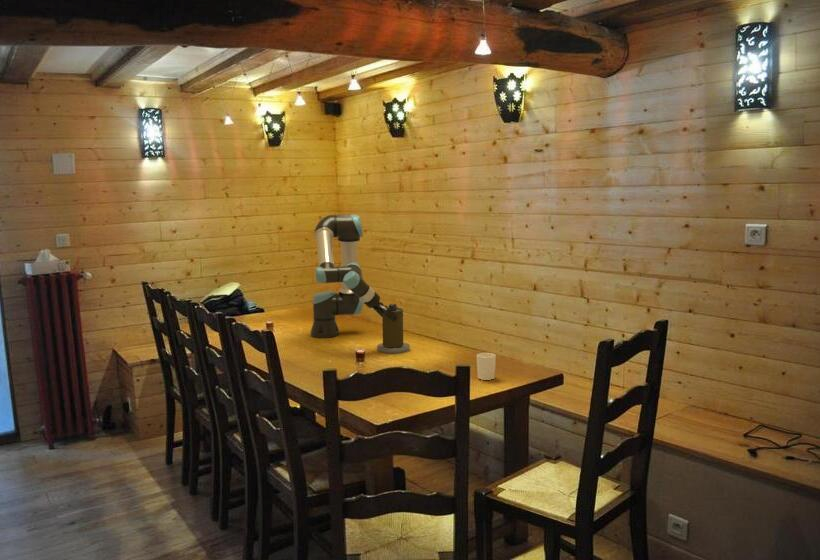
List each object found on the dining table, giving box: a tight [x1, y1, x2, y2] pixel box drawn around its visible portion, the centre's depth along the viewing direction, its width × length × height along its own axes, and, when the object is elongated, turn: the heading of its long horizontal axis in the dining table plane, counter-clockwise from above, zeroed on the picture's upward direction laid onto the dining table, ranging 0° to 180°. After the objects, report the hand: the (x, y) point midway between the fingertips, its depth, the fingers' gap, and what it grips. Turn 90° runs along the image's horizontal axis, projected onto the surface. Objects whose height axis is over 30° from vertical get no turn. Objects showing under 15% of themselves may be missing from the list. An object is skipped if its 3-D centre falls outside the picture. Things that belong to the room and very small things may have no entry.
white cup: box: [476, 352, 497, 381], centre depth 279 cm, size 8×8×10 cm
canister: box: [381, 303, 405, 347], centre depth 328 cm, size 11×10×20 cm
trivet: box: [376, 342, 411, 355], centre depth 329 cm, size 16×16×2 cm
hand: (399, 327), depth 330 cm, fingers open, 4 cm apart
